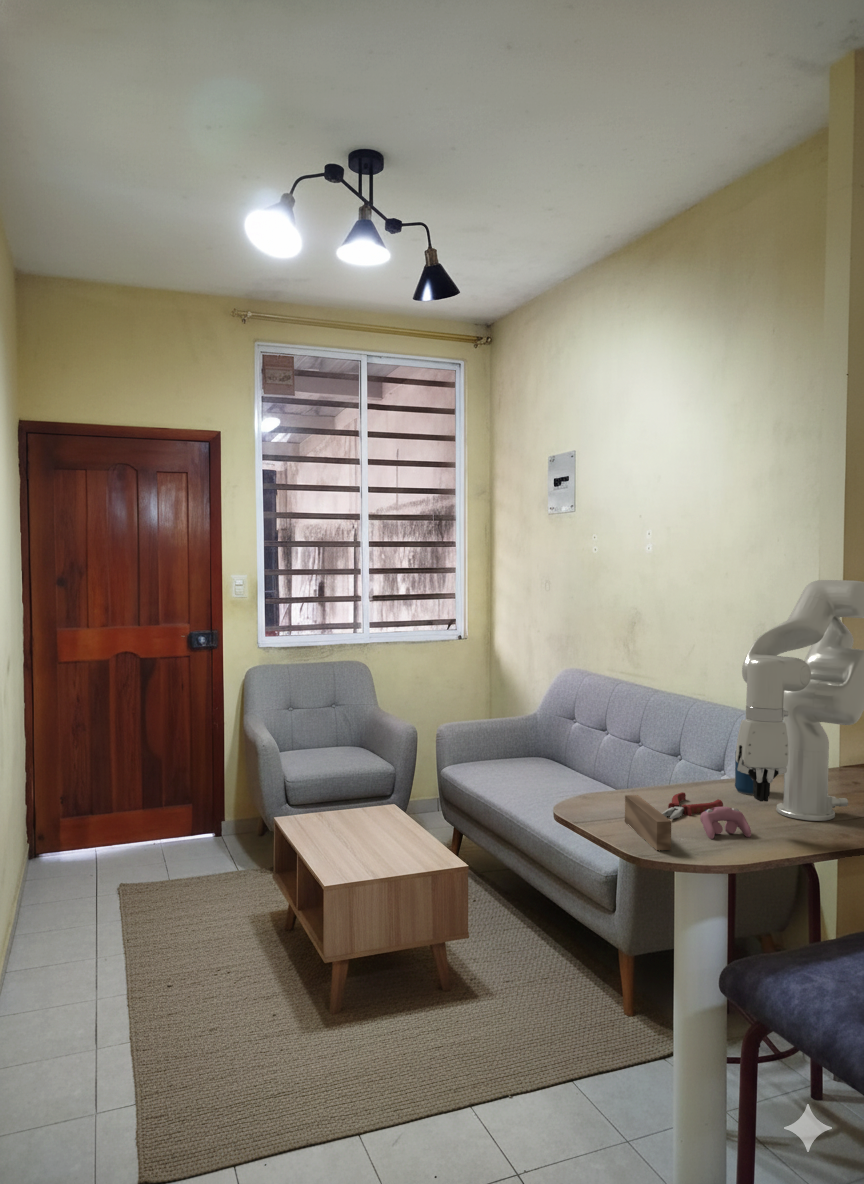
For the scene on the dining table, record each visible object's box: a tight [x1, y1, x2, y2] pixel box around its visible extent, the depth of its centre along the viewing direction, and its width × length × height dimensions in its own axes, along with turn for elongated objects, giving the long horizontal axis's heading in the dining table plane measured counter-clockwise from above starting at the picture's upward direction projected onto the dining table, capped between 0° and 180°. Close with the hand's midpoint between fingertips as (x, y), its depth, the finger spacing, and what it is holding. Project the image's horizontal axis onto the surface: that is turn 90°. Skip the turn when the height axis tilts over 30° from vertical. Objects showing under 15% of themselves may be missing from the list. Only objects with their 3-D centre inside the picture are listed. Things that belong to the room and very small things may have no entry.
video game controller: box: [700, 806, 752, 840], centre depth 184 cm, size 10×5×7 cm, turn 99°
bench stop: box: [624, 794, 672, 852], centre depth 183 cm, size 3×20×6 cm, turn 6°
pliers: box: [661, 792, 724, 820], centre depth 202 cm, size 12×20×3 cm, turn 138°
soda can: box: [734, 750, 763, 796], centre depth 220 cm, size 7×7×12 cm
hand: (761, 799), depth 185 cm, fingers closed
